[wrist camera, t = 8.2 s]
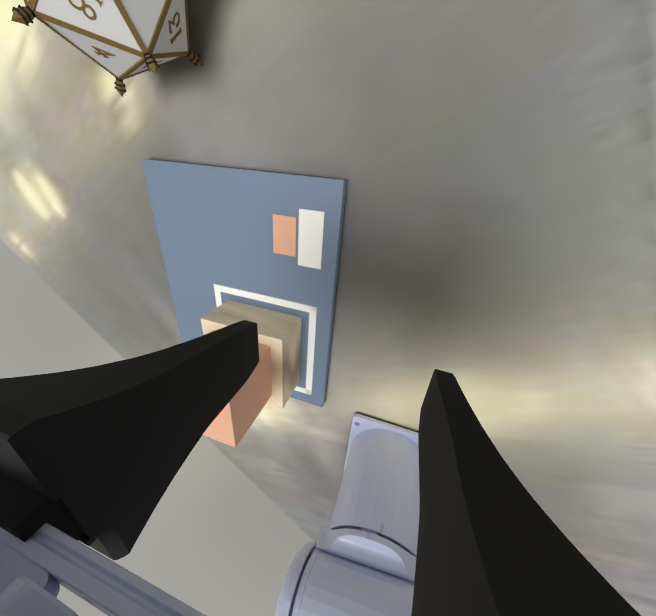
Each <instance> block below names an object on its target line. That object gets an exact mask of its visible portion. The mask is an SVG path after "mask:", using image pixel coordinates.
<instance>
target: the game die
mask: <svg viewBox="0 0 656 616" xmlns="http://www.w3.org/2000/svg"><path fill="white" fill-rule="evenodd" d="M24 2H25V5H26V7H21V6H20V5H18V8H15V7H13V9H12V11H13V16H12V20H11V21H15V22H19V23H23V24H25V25H27V26H29V25H28V23H30V22H31V23H33V21H32V20H33V19H34V17H36V18H37V19H38V20H40V21H41V22H42V23H44V24H45V25H46V26H48V27H49V28H50V29H52V30H53V31H54V32H56V33H57V34H58V35H60V36H61V37H62V38H64V39H65V40H66V41H68V42H69V43H70V44H72V45H73V46H74V47H76V48H77V49H78V50H80V51H81V52H82V53H84V54H85V55H86V56H88V57H89V58H90V59H92V60H93V61H94V62H96V63H97V64H98V65H100V66H101V67H103V68H104V69H105V70H107V71H108V72H109V73H111V74H112V75H113V76H115V78H116V82H114V83H115V85H116V87H115V88H116V89H117V91H118V92H119V93H120V95H121V96H123V95H124V93H125V92H126V89H125V84H124V83H123V80H124V79H126V78H129V77H132V76H134V75H137V74H140V73H142V72H145V71H148V70H149V71H152V72H154V73H156V74H157V71H158V68H159V66H161V65H164V64H166V63H169V62H172V61H174V60H177V59H180V58H182V57H185V56H188V57H189V58H190V60H191V61H193V62H194V64H195V65H200V66H203V65H202V63H201V61H200V58H199V55H196V53H195V52H192V51H191V50H190V46H189V29H188V13H187V0H24Z"/></svg>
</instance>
